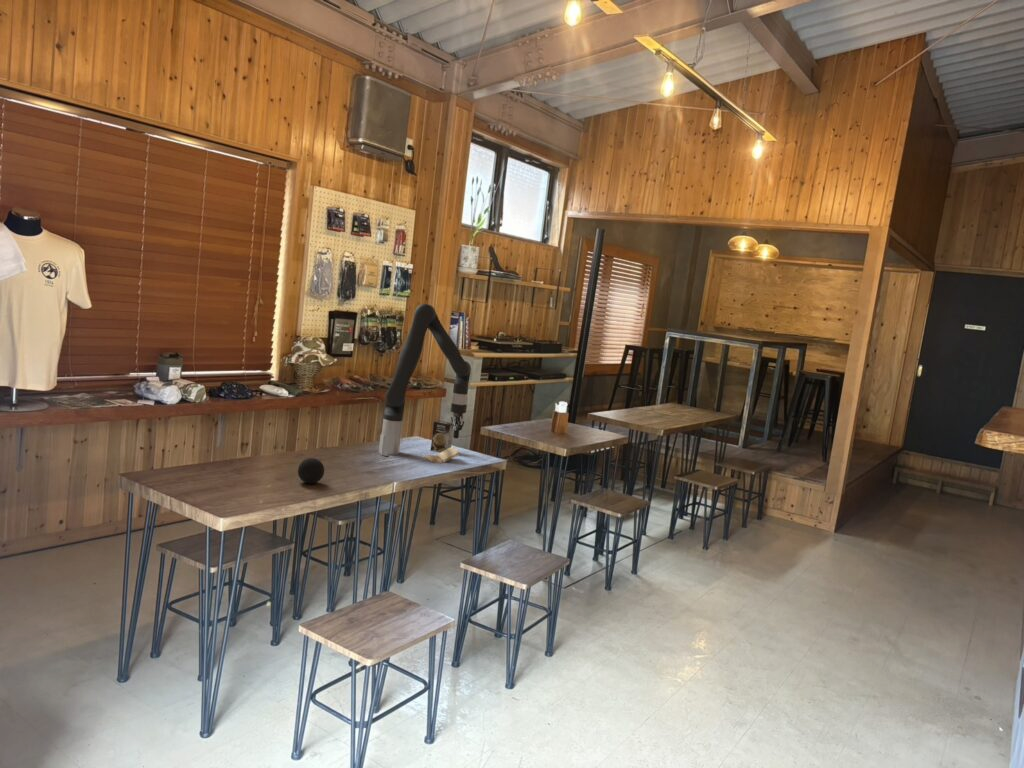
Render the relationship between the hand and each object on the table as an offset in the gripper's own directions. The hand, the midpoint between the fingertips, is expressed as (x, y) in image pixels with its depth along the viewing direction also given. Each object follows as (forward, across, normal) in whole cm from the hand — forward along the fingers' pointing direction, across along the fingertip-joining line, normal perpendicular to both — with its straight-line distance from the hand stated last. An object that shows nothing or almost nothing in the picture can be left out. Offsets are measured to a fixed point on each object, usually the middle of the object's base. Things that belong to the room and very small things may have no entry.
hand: (455, 438), depth 350 cm
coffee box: (+12, -19, 0) cm, 23 cm away
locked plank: (+11, 0, -10) cm, 15 cm away
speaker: (+11, +40, -74) cm, 84 cm away
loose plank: (+9, 0, -3) cm, 9 cm away
